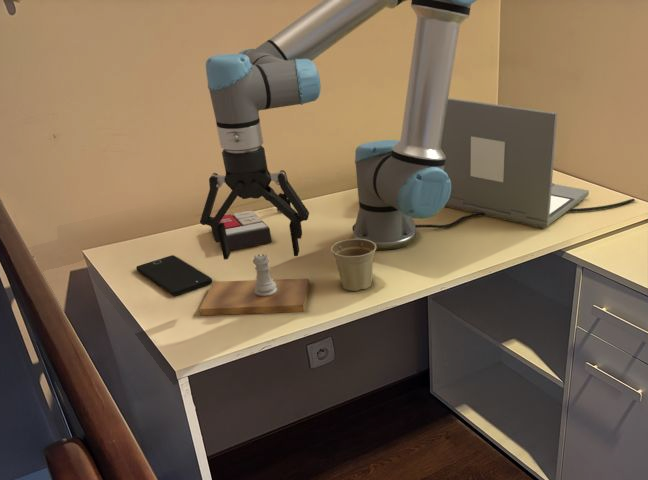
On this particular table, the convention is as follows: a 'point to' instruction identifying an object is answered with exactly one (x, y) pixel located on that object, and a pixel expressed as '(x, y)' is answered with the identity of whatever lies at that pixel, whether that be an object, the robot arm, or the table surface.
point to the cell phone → (174, 275)
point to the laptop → (504, 163)
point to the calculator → (245, 230)
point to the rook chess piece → (263, 277)
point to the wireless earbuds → (284, 199)
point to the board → (255, 297)
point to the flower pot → (354, 262)
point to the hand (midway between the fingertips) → (262, 255)
